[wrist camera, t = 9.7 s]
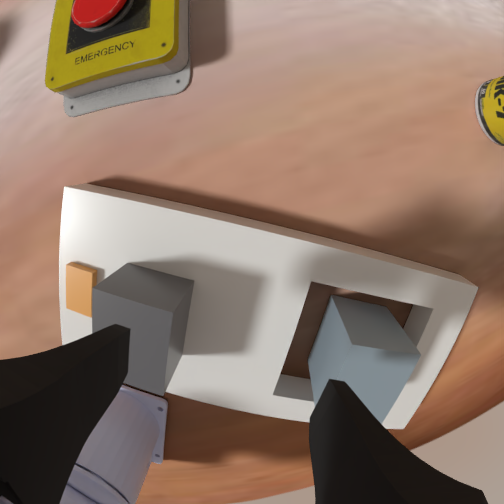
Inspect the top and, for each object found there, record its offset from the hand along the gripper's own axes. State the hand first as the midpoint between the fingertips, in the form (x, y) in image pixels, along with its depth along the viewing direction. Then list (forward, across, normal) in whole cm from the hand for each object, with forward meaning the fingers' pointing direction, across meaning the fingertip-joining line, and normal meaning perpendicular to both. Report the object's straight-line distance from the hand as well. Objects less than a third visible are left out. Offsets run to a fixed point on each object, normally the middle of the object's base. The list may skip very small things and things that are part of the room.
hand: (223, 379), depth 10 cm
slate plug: (+9, -7, +2) cm, 12 cm away
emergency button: (+10, +12, -16) cm, 23 cm away
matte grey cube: (+7, +5, +2) cm, 9 cm away
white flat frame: (+9, -1, +2) cm, 10 cm away
